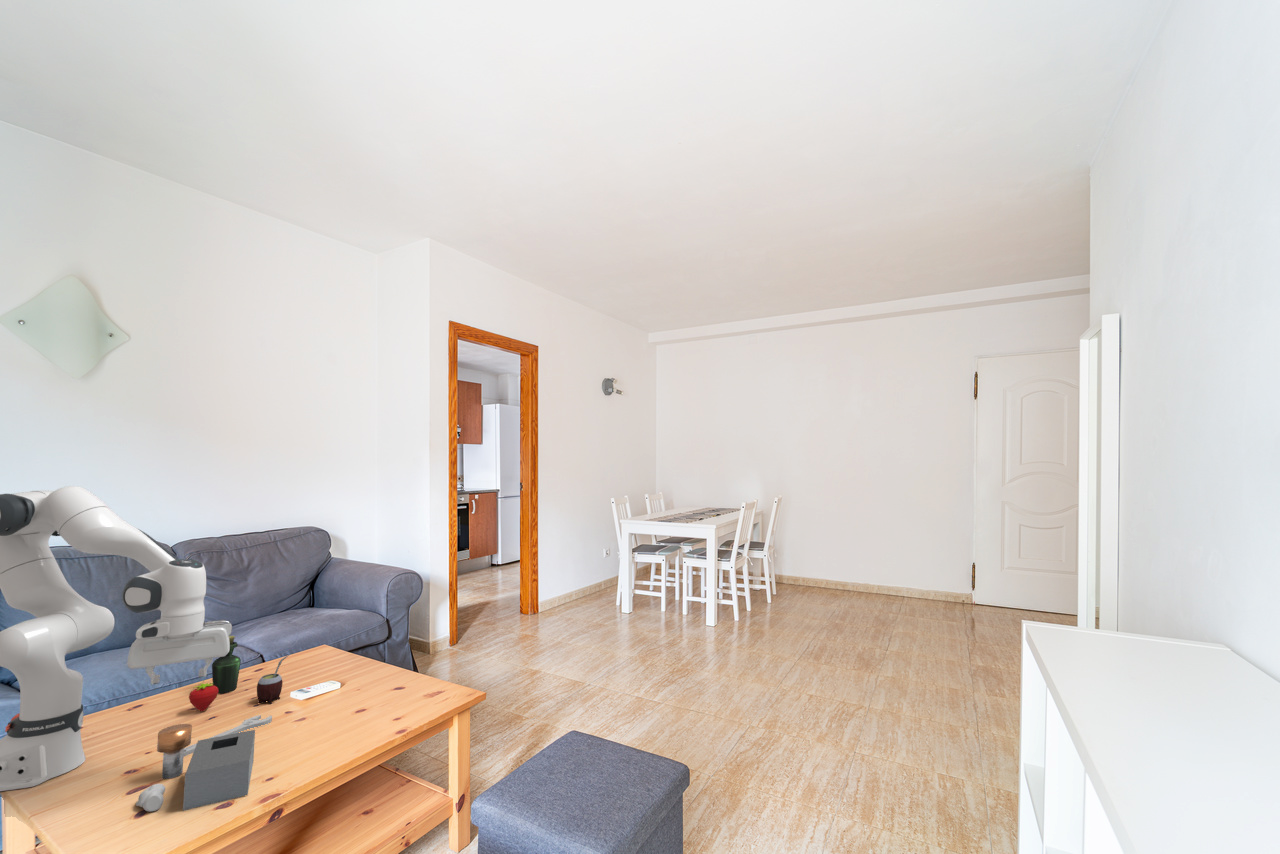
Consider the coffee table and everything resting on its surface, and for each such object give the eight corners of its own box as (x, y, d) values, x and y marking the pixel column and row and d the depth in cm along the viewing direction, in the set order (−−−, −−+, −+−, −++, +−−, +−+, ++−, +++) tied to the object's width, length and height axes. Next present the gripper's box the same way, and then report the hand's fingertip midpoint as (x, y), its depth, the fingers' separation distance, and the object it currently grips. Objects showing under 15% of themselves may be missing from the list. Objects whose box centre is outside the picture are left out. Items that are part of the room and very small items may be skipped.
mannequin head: (141, 806, 131) (168, 792, 134) (136, 823, 124) (165, 808, 127) (135, 789, 130) (162, 775, 133) (130, 805, 124) (159, 790, 127)
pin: (152, 785, 137) (155, 738, 138) (158, 772, 143) (161, 727, 143) (186, 777, 140) (189, 731, 141) (191, 765, 146) (193, 721, 147)
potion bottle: (243, 689, 196) (246, 636, 197) (216, 697, 189) (219, 642, 190) (232, 684, 200) (235, 632, 202) (205, 691, 193) (209, 638, 195)
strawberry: (219, 710, 179) (221, 678, 180) (189, 718, 173) (191, 684, 174) (215, 705, 183) (217, 673, 184) (185, 712, 177) (188, 679, 178)
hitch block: (182, 810, 127) (185, 773, 128) (196, 773, 142) (198, 740, 143) (247, 795, 133) (249, 760, 134) (253, 761, 149) (255, 729, 149)
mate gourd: (254, 700, 186) (257, 654, 188) (282, 694, 192) (284, 649, 193) (258, 707, 181) (261, 660, 182) (286, 701, 186) (289, 654, 187)
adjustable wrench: (178, 761, 149) (178, 754, 149) (165, 755, 152) (165, 748, 152) (274, 722, 172) (275, 716, 172) (262, 718, 174) (262, 712, 175)
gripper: (233, 616, 152) (230, 668, 151) (133, 626, 142) (130, 683, 141) (231, 621, 147) (228, 676, 146) (127, 633, 137) (123, 692, 136)
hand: (179, 679), depth 143 cm, fingers open, 8 cm apart
